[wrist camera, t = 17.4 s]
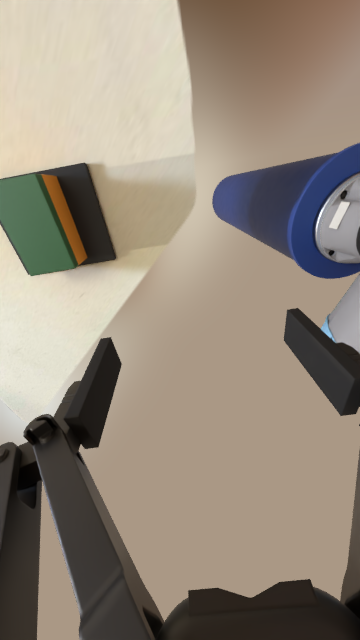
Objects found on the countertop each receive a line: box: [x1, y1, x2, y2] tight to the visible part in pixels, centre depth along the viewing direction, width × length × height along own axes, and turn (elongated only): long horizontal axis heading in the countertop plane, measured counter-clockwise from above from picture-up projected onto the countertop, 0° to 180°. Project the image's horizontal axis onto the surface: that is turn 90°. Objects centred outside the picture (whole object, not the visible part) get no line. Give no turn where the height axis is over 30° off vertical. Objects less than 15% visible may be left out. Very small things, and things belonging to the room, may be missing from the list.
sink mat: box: [0, 163, 116, 275], centre depth 35 cm, size 16×14×1 cm
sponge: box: [0, 174, 88, 276], centre depth 32 cm, size 12×7×6 cm, turn 9°
